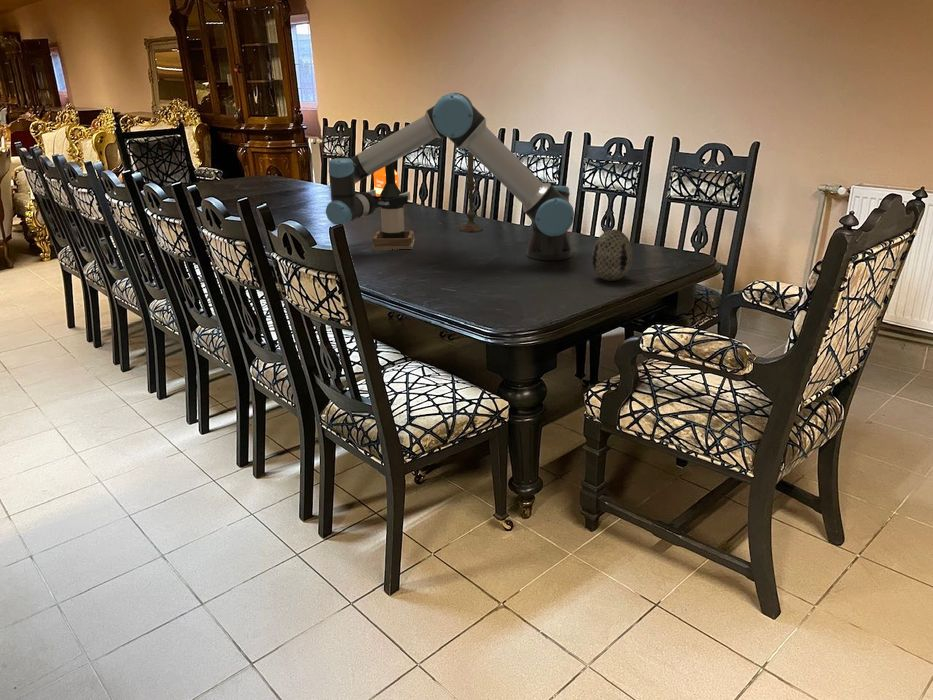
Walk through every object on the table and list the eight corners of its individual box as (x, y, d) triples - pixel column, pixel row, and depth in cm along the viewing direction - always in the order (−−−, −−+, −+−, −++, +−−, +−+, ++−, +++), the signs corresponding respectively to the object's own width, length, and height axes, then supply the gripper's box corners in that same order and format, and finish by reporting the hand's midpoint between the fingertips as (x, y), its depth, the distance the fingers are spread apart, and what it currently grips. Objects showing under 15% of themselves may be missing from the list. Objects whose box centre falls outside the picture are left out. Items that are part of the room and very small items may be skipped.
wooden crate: (412, 249, 242) (411, 239, 241) (372, 250, 242) (371, 239, 241) (415, 240, 255) (414, 230, 254) (377, 240, 255) (376, 230, 254)
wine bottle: (401, 245, 244) (397, 157, 232) (379, 244, 245) (373, 157, 234) (408, 239, 251) (404, 154, 240) (386, 238, 253) (381, 154, 241)
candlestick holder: (456, 231, 268) (454, 151, 257) (464, 226, 276) (463, 149, 264) (478, 233, 265) (477, 152, 253) (486, 228, 273) (486, 149, 261)
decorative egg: (582, 277, 207) (585, 227, 202) (616, 272, 211) (619, 224, 206) (604, 287, 197) (607, 236, 192) (638, 283, 201) (642, 232, 196)
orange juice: (388, 203, 325) (386, 160, 318) (400, 206, 319) (397, 161, 312) (375, 206, 321) (372, 161, 313) (386, 208, 315) (383, 163, 307)
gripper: (329, 214, 230) (361, 203, 249) (395, 219, 221) (424, 207, 239) (327, 191, 228) (360, 182, 246) (393, 195, 219) (423, 185, 237)
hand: (391, 194), depth 243 cm, fingers open, 13 cm apart
